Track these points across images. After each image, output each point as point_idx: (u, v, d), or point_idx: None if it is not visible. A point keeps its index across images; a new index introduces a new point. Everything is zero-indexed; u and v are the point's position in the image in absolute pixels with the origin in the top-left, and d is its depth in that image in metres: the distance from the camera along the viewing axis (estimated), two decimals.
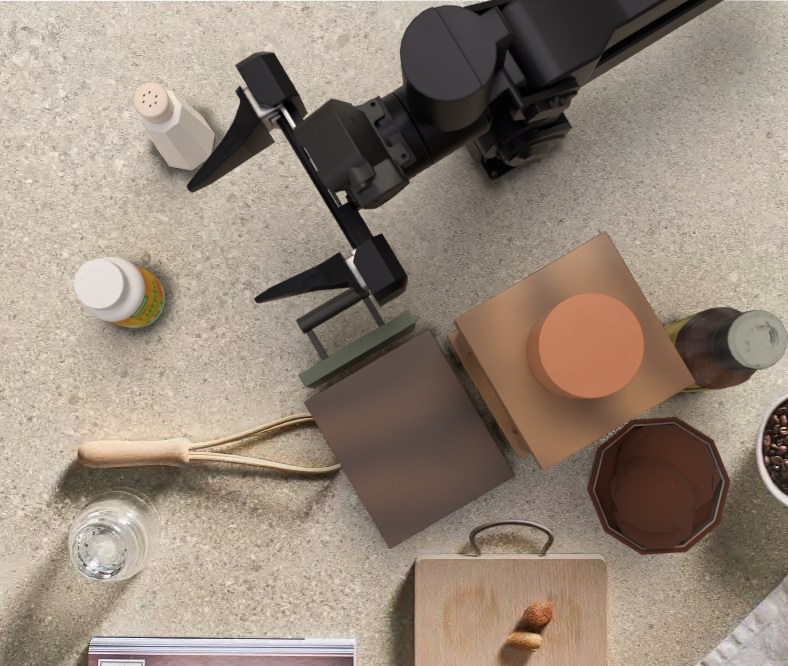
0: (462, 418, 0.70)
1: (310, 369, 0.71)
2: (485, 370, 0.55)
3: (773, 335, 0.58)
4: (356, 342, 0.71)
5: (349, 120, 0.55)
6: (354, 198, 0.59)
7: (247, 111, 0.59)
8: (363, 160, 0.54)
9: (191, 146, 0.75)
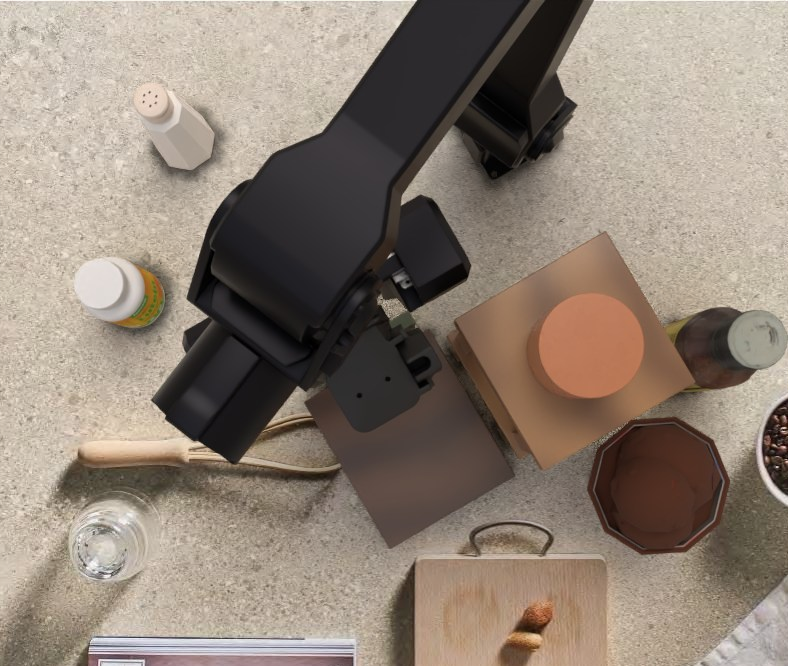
0: (462, 418, 0.70)
1: None
2: (485, 370, 0.55)
3: (773, 335, 0.58)
4: None
5: (367, 404, 0.54)
6: None
7: None
8: (418, 399, 0.54)
9: (191, 146, 0.75)
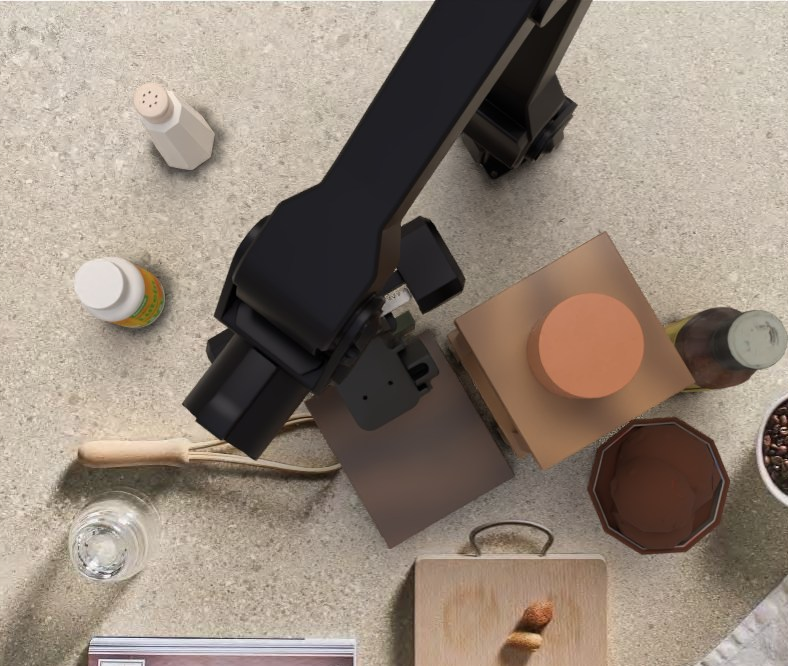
0: (462, 418, 0.70)
1: None
2: (485, 370, 0.55)
3: (773, 335, 0.58)
4: None
5: (372, 405, 0.60)
6: None
7: None
8: (418, 400, 0.60)
9: (191, 146, 0.75)
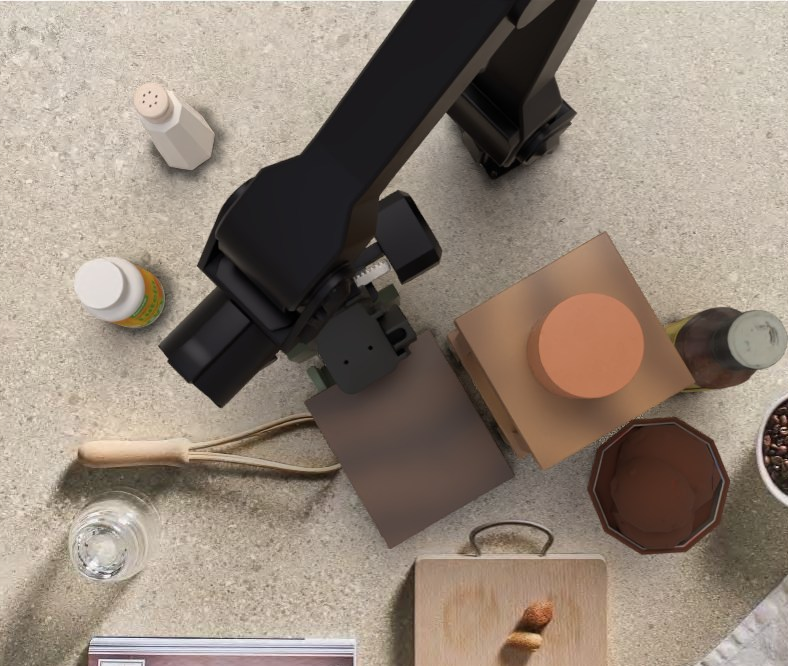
0: (462, 418, 0.70)
1: None
2: (485, 370, 0.55)
3: (773, 335, 0.58)
4: None
5: (353, 370, 0.63)
6: None
7: None
8: (397, 365, 0.63)
9: (191, 146, 0.75)
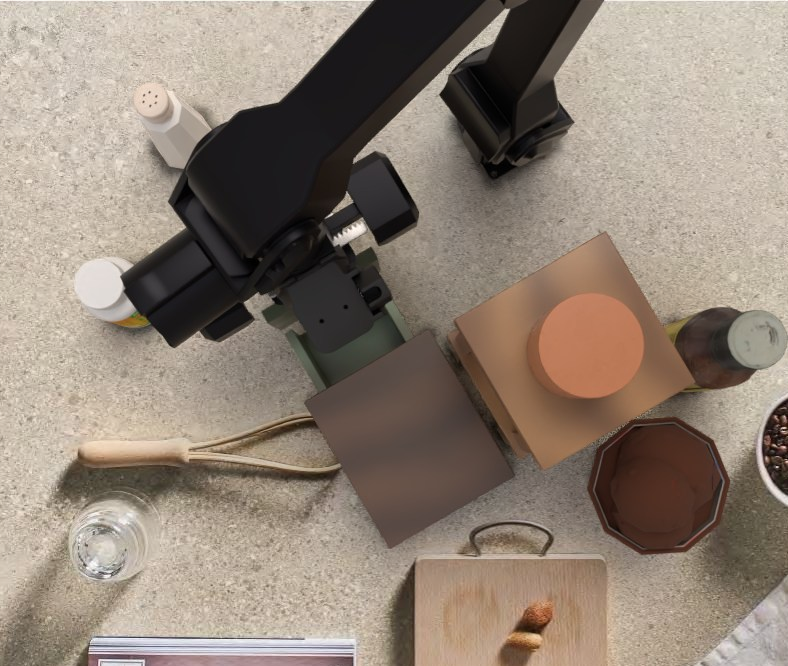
0: (462, 418, 0.70)
1: (273, 305, 0.71)
2: (485, 370, 0.55)
3: (773, 335, 0.58)
4: None
5: (328, 329, 0.63)
6: None
7: None
8: (372, 325, 0.63)
9: (191, 146, 0.75)
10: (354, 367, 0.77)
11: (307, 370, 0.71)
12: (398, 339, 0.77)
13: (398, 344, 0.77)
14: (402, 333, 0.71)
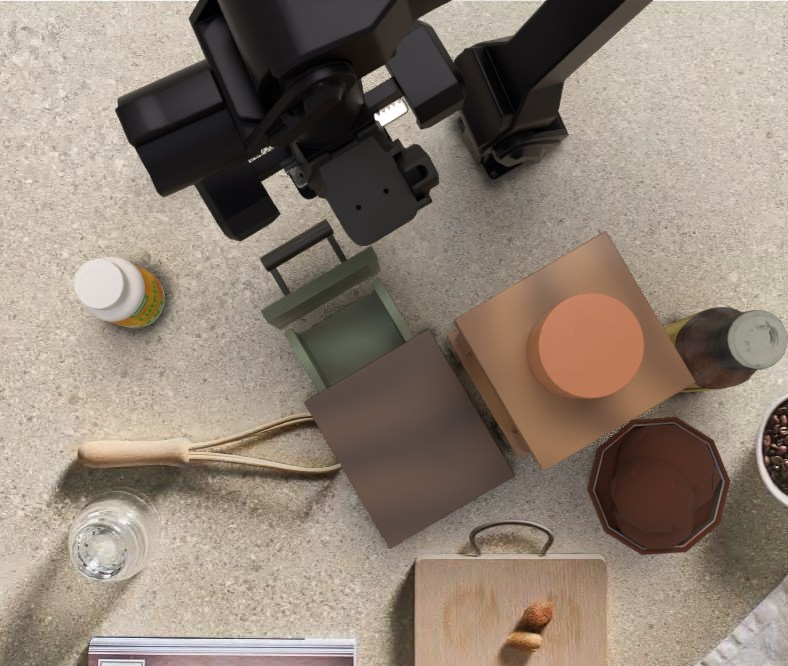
0: (462, 418, 0.70)
1: (273, 305, 0.71)
2: (485, 370, 0.55)
3: (773, 335, 0.58)
4: (318, 278, 0.71)
5: (366, 217, 0.55)
6: None
7: None
8: (416, 213, 0.56)
9: None
10: (354, 366, 0.77)
11: (307, 369, 0.71)
12: (398, 338, 0.77)
13: (398, 343, 0.77)
14: (402, 332, 0.71)
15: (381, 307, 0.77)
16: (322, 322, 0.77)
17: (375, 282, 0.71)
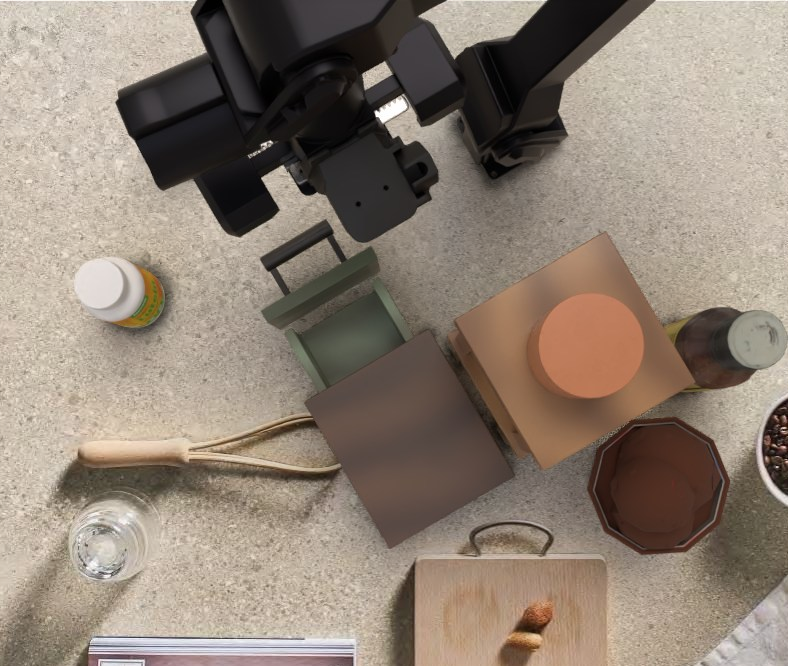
0: (462, 418, 0.70)
1: (273, 305, 0.71)
2: (485, 370, 0.55)
3: (773, 335, 0.58)
4: (318, 278, 0.71)
5: (366, 213, 0.55)
6: None
7: None
8: (416, 210, 0.56)
9: None
10: (354, 366, 0.77)
11: (307, 369, 0.71)
12: (398, 338, 0.77)
13: (398, 343, 0.77)
14: (402, 332, 0.71)
15: (381, 307, 0.77)
16: (322, 322, 0.77)
17: (375, 282, 0.71)
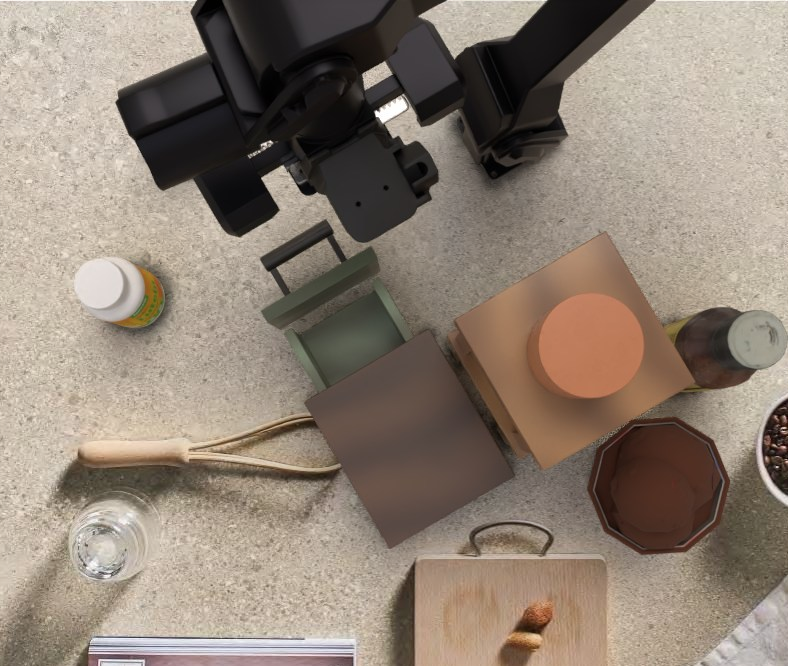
0: (462, 418, 0.70)
1: (273, 305, 0.71)
2: (485, 370, 0.55)
3: (773, 335, 0.58)
4: (318, 278, 0.71)
5: (366, 213, 0.55)
6: None
7: None
8: (416, 210, 0.56)
9: None
10: (354, 366, 0.77)
11: (307, 369, 0.71)
12: (398, 338, 0.77)
13: (398, 343, 0.77)
14: (402, 332, 0.71)
15: (381, 307, 0.77)
16: (322, 322, 0.77)
17: (375, 282, 0.71)
